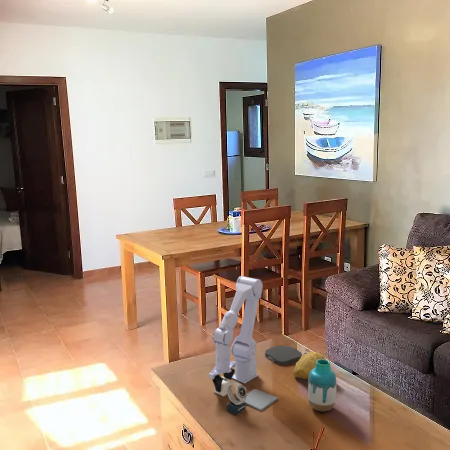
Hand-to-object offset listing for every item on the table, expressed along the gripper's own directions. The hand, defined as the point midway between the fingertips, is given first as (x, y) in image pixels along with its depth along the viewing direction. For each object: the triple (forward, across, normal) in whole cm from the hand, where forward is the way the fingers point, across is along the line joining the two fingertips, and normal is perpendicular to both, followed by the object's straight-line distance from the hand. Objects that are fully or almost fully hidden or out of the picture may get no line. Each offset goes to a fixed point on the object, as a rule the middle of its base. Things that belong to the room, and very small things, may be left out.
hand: (222, 388), depth 202 cm
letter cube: (+1, 0, 0) cm, 1 cm away
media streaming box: (+2, +43, -1) cm, 43 cm away
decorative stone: (+2, +33, -22) cm, 39 cm away
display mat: (+1, +4, -15) cm, 16 cm away
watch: (+2, -7, -13) cm, 15 cm away
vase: (+2, +15, -37) cm, 40 cm away
